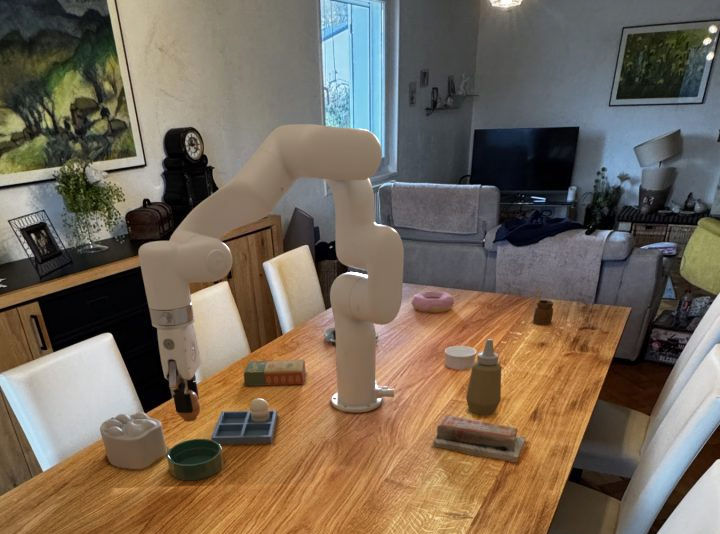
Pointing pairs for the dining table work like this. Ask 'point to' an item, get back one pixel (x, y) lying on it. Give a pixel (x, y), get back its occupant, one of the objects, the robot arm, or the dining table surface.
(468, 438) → the packaged product
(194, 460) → the bowl
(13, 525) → the dining table surface
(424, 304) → the donut
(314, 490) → the dining table surface
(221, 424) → the egg tray
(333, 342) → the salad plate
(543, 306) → the utensil holder
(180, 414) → the brown egg
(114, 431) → the lumpy-topped squat cylinder
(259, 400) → the cream egg
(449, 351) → the ramekin
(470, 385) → the squeeze bottle
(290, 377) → the carton
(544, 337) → the dining table surface
